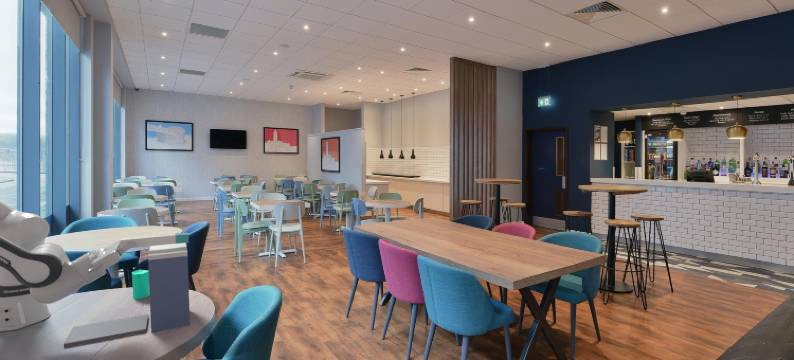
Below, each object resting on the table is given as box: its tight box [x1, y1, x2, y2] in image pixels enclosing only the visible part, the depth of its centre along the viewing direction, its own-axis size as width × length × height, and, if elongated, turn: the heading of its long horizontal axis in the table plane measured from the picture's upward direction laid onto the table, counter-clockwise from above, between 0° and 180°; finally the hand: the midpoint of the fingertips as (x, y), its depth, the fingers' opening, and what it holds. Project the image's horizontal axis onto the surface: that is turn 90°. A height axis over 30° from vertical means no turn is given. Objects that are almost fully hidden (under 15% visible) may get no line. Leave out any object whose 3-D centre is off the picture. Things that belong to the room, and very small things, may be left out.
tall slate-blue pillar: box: [147, 243, 191, 333], centre depth 143 cm, size 12×16×26 cm
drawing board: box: [63, 314, 149, 348], centre depth 135 cm, size 22×14×1 cm, turn 119°
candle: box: [131, 269, 150, 300], centre depth 168 cm, size 6×6×12 cm
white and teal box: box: [120, 232, 190, 249], centre depth 140 cm, size 20×4×3 cm, turn 120°
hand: (134, 241), depth 137 cm, fingers closed on white and teal box, 3 cm apart
